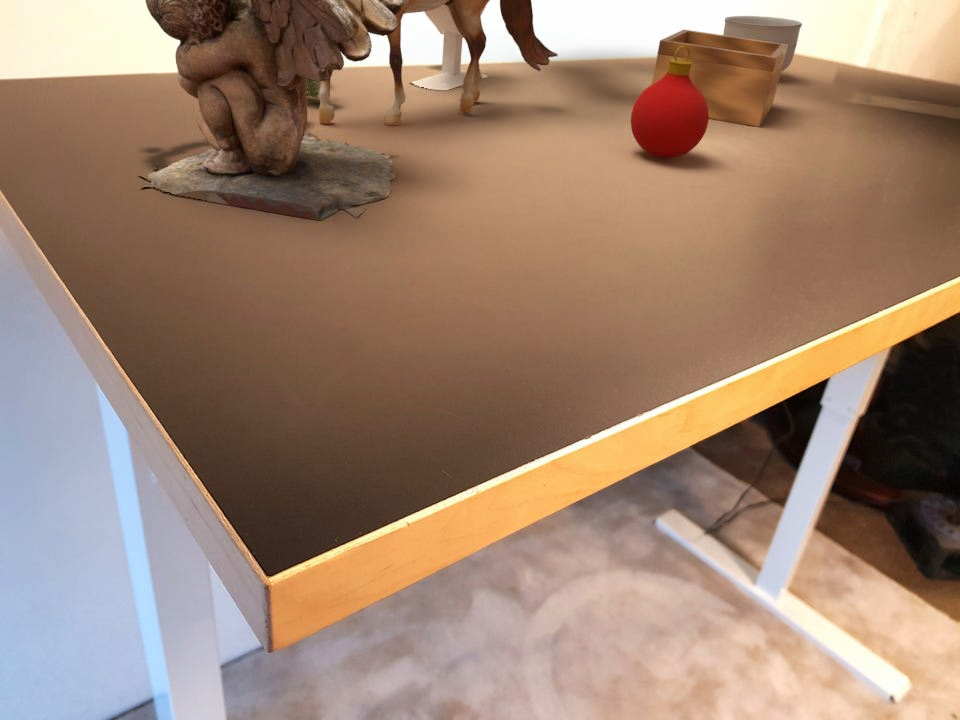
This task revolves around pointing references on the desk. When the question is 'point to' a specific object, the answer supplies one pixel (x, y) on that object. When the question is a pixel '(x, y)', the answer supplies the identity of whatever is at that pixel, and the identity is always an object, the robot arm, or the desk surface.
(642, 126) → the christmas ornament
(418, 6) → the horse figurine
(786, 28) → the teacup
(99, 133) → the desk surface
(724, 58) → the wooden box
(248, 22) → the cherub figurine
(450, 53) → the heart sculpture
